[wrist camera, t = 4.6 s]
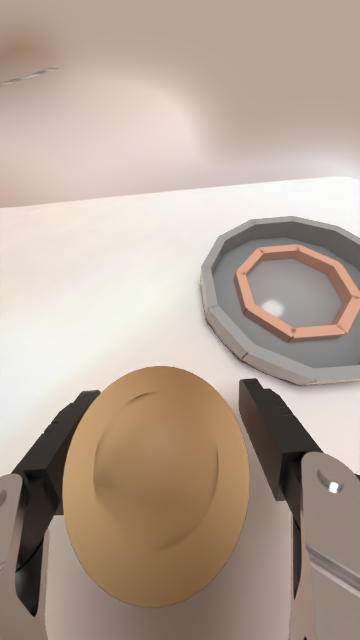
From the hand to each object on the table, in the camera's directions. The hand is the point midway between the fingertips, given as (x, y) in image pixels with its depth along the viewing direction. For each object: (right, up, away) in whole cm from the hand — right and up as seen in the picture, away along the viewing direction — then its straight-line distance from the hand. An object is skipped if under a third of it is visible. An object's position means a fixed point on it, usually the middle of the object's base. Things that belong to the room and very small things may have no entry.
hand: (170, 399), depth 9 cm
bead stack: (0, -3, +3) cm, 5 cm away
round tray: (+11, +6, +8) cm, 15 cm away
